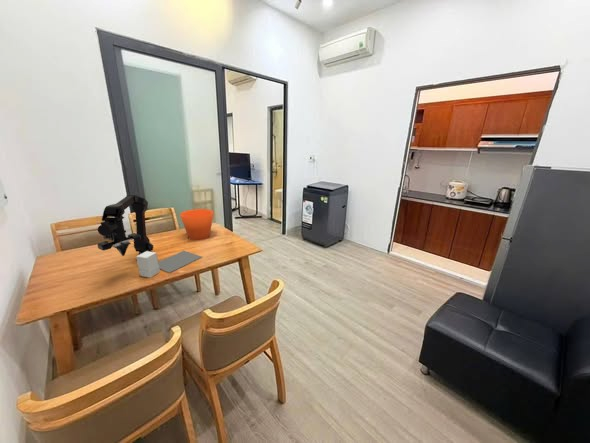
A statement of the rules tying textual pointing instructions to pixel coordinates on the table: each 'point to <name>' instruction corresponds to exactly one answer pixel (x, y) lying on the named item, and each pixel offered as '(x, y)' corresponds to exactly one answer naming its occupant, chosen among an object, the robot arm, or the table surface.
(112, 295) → the table surface
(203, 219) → the flowerpot
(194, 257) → the mat
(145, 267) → the supplement box
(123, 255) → the robot arm
